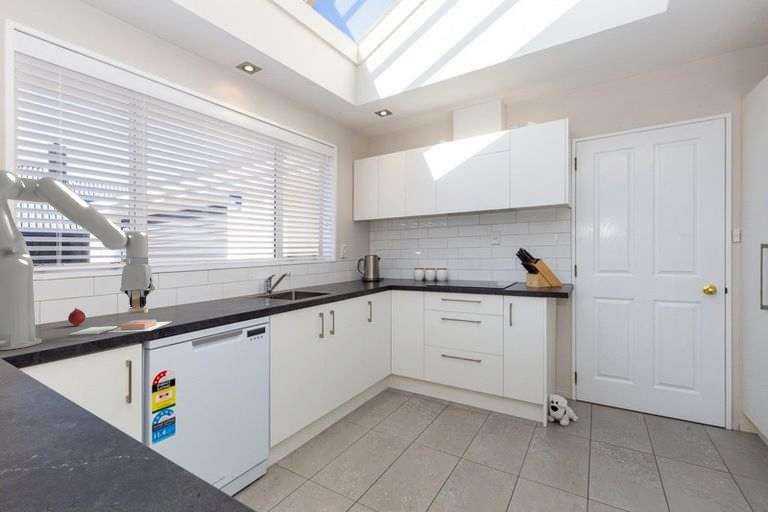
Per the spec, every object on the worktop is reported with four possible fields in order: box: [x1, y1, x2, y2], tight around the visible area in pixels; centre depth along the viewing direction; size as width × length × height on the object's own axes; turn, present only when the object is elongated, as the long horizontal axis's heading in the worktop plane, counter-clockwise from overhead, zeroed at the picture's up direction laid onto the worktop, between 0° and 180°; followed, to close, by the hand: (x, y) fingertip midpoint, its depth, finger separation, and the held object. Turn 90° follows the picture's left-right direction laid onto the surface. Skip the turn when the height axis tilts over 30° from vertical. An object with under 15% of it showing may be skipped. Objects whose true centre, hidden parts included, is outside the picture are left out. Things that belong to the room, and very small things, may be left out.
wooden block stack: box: [127, 290, 149, 315], centre depth 149 cm, size 3×6×10 cm, turn 96°
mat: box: [108, 321, 171, 333], centre depth 150 cm, size 18×16×1 cm
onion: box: [67, 307, 86, 327], centre depth 159 cm, size 6×6×8 cm
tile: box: [120, 319, 158, 330], centre depth 148 cm, size 2×9×9 cm
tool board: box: [68, 325, 118, 336], centre depth 144 cm, size 12×10×1 cm
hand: (137, 306), depth 148 cm, fingers closed on wooden block stack, 3 cm apart
